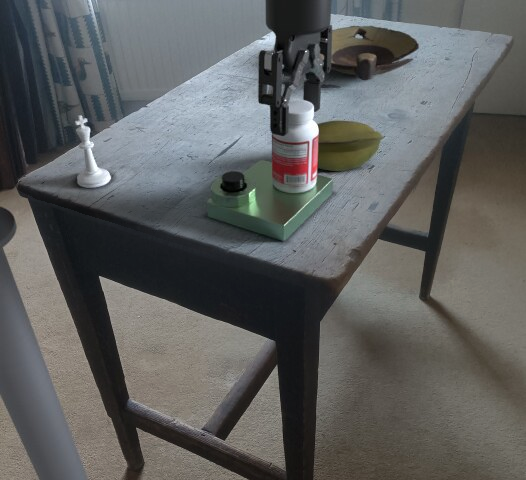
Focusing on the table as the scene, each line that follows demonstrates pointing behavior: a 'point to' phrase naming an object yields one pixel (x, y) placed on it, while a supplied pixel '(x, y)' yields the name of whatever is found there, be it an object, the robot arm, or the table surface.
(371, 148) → the fruit
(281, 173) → the pill bottle
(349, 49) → the broken bowl
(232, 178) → the button
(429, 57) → the table surface
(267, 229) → the scale
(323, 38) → the robot arm
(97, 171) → the chess piece
